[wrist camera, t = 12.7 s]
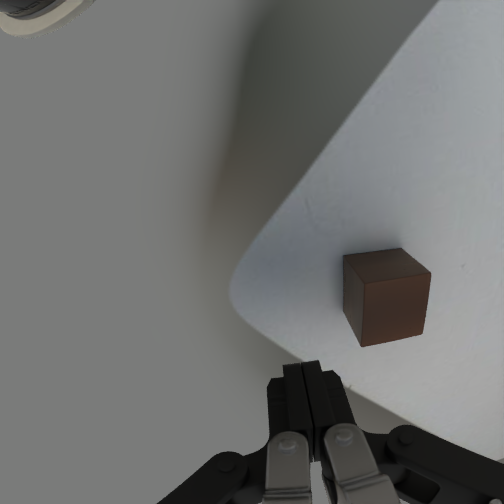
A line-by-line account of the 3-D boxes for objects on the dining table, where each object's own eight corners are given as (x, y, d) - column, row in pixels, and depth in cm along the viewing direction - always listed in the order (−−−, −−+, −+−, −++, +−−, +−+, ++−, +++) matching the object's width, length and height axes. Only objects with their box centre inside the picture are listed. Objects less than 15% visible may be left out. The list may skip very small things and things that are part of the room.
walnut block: (343, 255, 19) (364, 283, 15) (401, 247, 19) (432, 272, 15) (343, 312, 20) (360, 348, 16) (397, 302, 20) (422, 334, 16)
